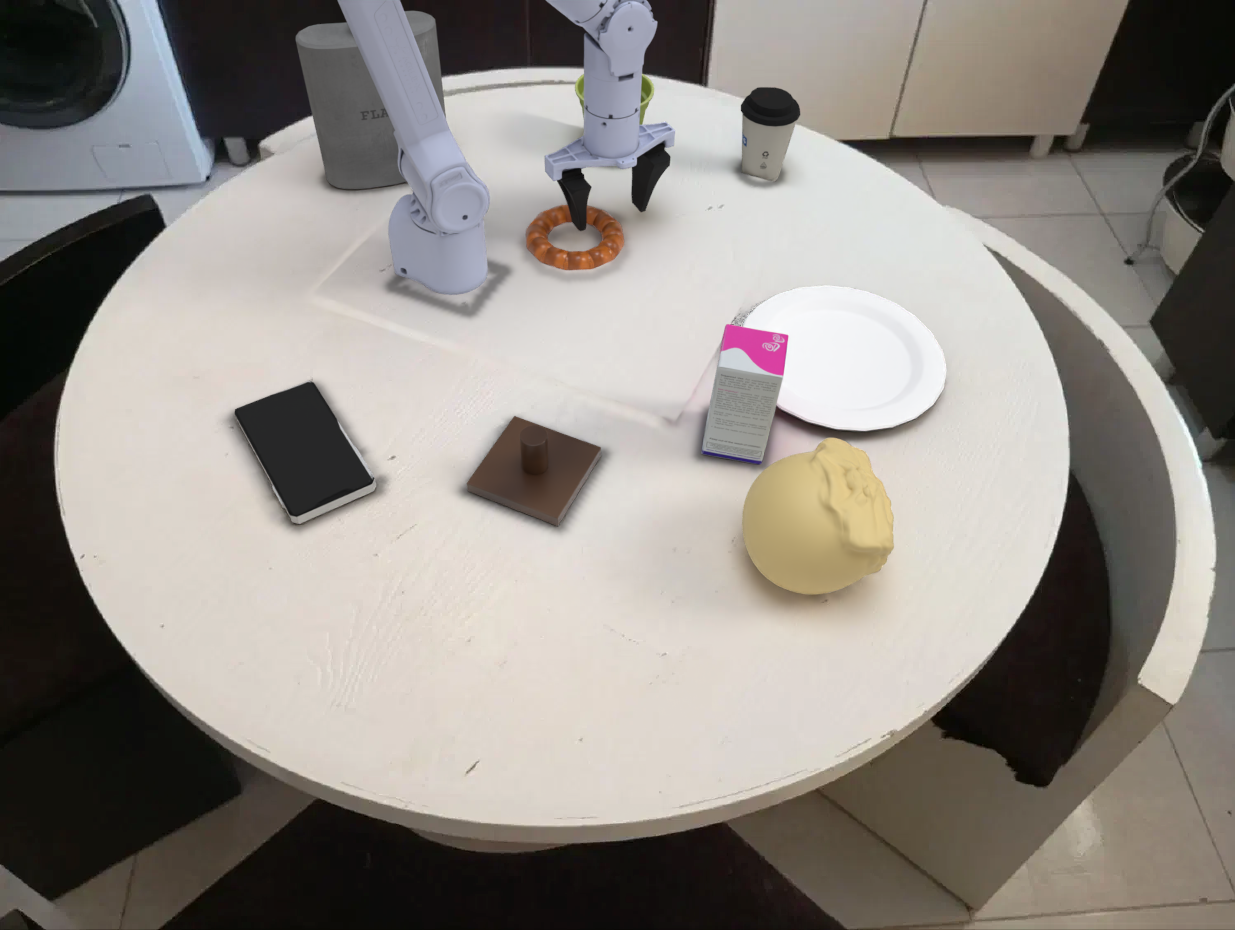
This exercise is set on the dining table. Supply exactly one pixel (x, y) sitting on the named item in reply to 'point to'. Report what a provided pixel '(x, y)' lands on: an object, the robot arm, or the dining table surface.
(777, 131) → the coffee cup
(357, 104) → the flask
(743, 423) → the supplement box
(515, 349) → the dining table surface
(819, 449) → the sculpture
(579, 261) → the ring
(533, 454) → the stand
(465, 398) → the dining table surface
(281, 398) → the smartphone
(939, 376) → the plate
